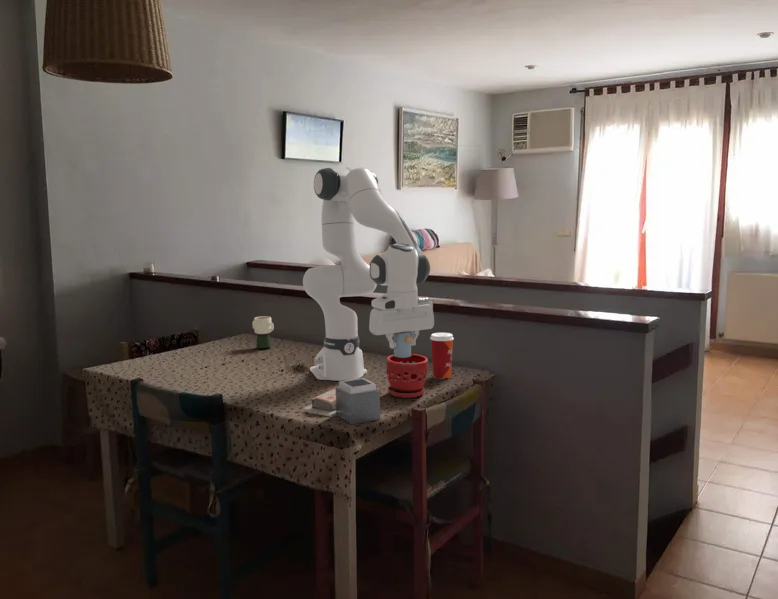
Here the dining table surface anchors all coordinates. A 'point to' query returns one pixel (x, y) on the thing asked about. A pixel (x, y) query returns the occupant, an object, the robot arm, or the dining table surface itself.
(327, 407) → the packaged product
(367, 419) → the grey hollow box
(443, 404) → the dining table surface
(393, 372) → the plant pot
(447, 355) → the coffee cup
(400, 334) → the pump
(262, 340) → the character mug
